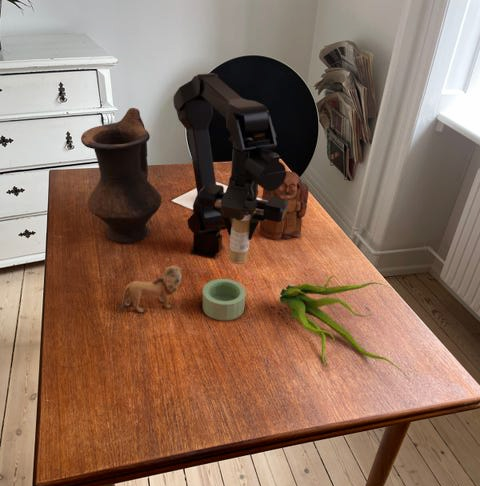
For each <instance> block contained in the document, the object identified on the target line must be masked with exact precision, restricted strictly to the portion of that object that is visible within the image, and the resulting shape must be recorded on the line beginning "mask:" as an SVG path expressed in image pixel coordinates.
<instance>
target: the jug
mask: <svg viewBox="0 0 480 486" xmlns="http://www.w3.org/2000/svg"><path fill="white" fill-rule="evenodd" d="M150 138H151V135H150V133H149V131H148V130H147V129H146V127H145V125H144V122H143V119H142V117H141V112H140V110H139V108H136V107H129V108H128V110H127V111H126V113H125V115H124V116H123V117H122V118H121V119H120V120H119V121H117V122H112V123H107V124H103V125H97V126H93V127H91V128H89V129H87V130H85V131H84V132H83V133H82V135H81V137H80V141H81V144H83V146H84V147H85V148H88V149H93V150H94V154H95V157H96V160H97V164H98V170H99V173H100V177H99V181H98V182H97V184H96V185H95V187H94V188H93V190H92V191H91V193H90V195H89V197H88V199H87V207H88V209H89V212H90V213H91V214H93V215H94V216H95V217H97V218H99V219H100V220H101V221H102V222H104V224H105V225H106V226H107V227H106V230H105V235H106V237H107V239H109V240H110V241H113V242H115V243H121V244H132V243H135V242H138V241H142V240H144V239H145V238H146V237H148V234H149V229H148V226H147V223H148V222H149V221H150V220H151V219H152V217H153V216H154V215H155V214H156V213H157V212H158V210H159V209H160V208H161V205H162V200H163V199H162V195H161V193H160V192H159V191H158V189H156V188H155V186H153V185H152V184H151V183H150V182H149V180H148V177H149V164H148V141H149V140H150Z"/></svg>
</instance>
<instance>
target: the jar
mask: <svg viewBox="0 0 480 486" xmlns="http://www.w3.org/2000/svg"><path fill="white" fill-rule="evenodd" d="M246 294H247V293H246V289H245V287H244V285H242V284H241V282H238V281H236V280H233V279H230V278H215V279H212V280H209V281H208V282H207V283H205V284H204V286H203V288H202V301H201V302H202V303H201V305H202V306H201V308H202V311H203V313H204V314H205V315H206V316H208V317H209V318H211V319H214V320H217V321H232V320H236V319H238V318H239V317H241V315H242V314H243V313H244V311H245V305H246Z"/></svg>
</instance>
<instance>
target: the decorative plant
mask: <svg viewBox="0 0 480 486" xmlns="http://www.w3.org/2000/svg"><path fill="white" fill-rule="evenodd" d="M337 277H339V278H340V276H337ZM332 278H335V275H331V276H329V277H328V279H327V281H326V282H325V284H324V286H322V285H314V284H311V283H303V284H297V285H290V284H288V285H287V286H286V287H285V288H282V289H281V291H280V294H279V295H280V296H279V300H280V301H279V302H280V303H282V304H284V305H285V304H286V305H287V306H288V307H289V309H290V313H291V316H292V317H293V318H294V319H296V321H299V322H300V324H301V325H302V327H303V328H304V330H305V331H308V332H312V333H315V334H316V336H318V337H319V338H320V340H321V360H322V362H323V364H324V365H325V366H327V364H326V362H325V357H324V356H325V349H326V338H327V337H326V334H327V335H329V336H330V337H331V338H332V339H333V341H335V339H336V338H335V337H334V335H333V334H332V332H330V331H328V330H323V329H321V327H320V326H319V325H318V324H317V323H316V322H315V321H313V320H312V319H310V318H309V317H308V316H309V315H310V316H312V317H314V318H316V319H318V320H319V321H321V322H322V323H324V324H325V325H327V326H328V327H329V328H330V329H332V330H333V331H334V332H335V333H337V334H338V335H339V336H340V337H341V338H342V339H343V340H345V341H346V342H347V343H348V344H350V345H351V346H352V347H353V348H354V349H355V350H356V351H357V352H359V353H360V354H362V355H364V356H367V357H369V358H372V359H376V360H383V361H386V362H387V363H390V364H391V365H393V366H394V367H395V368H396V369H398V370H399V371H401V373H402V374H403V375H404V376H405V377H406V378H407V379H408V380H410V378H409V377H408V376H407V374H405V372H404V371H403V370H402V369H401V368H400V367H398V366H397V365H396V364H395V363H393V361H391V360H389V359H388V358H386V357H384V356H381V355H378V354H374V353H372V352H370V351H367V350H366V349H363V348H362V347H361V346H360V344H359V343H358V342H357V341H356V339H354V336H352V335H351V333H350V332H349V331H348V330H347V329H345V328H344V327H342V326H341V325H340V324H339V323H337V322H336V321H335V320H334V319H332V317H330V316H329V315H328V314H326V313H325V312H324V311H323V310H322V309H320V308H323V307H325V306H329V305H330V306H333V307H335V305H334V304H337V303H338V304H340V305H342V306H343V307H345V308H346V309H347V310H348V311H349V312H350V313H351V314H353V315H354V316H357V317H364V318H365V317H369V316H372V315H373V313H370V314H367V315H362V314H358V313H357V312H355V311H354V309H352V308H351V306H350V305H349V304H348V303H347V302H346V301H344V300H342V299H341V298H336V297H328V296H329V295H335V294H340V293H344V292H345V293H346V292H349V291H355V290H360V289H363V288H366V287H367V286H370V285H374V284H375V285H381V286H385V287H387V288H389V289H391V286H388V285H386V284H384V283H380V282H375V281H373V282H372V281H371V282H367V283H362V284H353V285H352V284H351V285H350V284H349V285H338V286H331V287H328V285H329V283H330V280H331V279H332ZM308 295H321V296H326V297H321V298H313V297H310V296H308ZM307 315H308V316H307Z"/></svg>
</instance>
